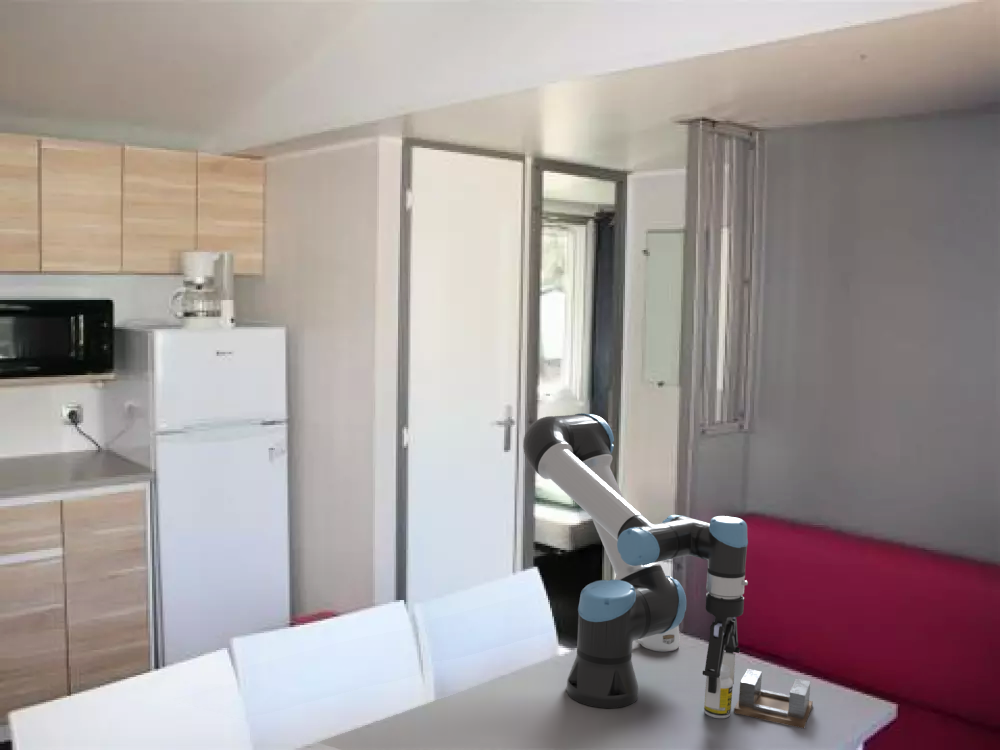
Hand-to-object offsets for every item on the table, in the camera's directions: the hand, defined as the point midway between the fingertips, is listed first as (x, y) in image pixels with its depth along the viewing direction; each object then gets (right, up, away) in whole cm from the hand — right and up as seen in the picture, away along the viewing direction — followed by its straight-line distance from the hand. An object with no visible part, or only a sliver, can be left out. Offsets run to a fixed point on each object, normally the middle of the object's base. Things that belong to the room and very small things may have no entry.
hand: (719, 694), depth 200 cm
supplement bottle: (0, -4, +1) cm, 4 cm away
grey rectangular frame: (+12, -4, +4) cm, 13 cm away
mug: (-7, 0, +37) cm, 38 cm away
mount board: (+12, -4, +4) cm, 13 cm away
